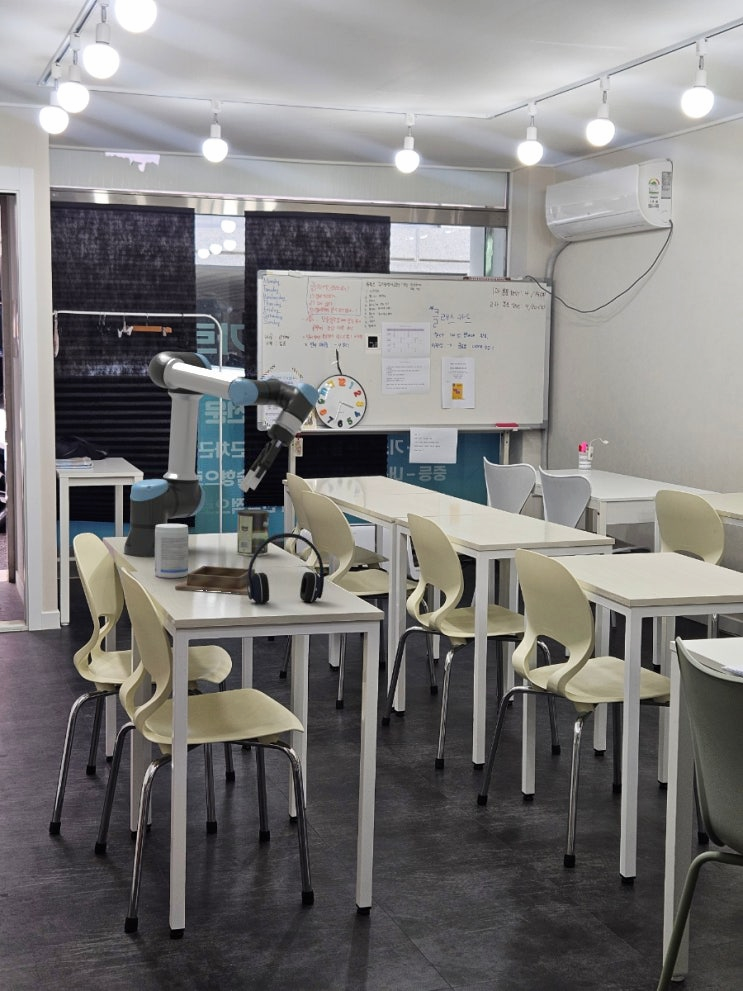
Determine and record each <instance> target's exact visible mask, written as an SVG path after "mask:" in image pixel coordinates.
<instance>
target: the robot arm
mask: <svg viewBox="0 0 743 991" xmlns="http://www.w3.org/2000/svg"><path fill="white" fill-rule="evenodd" d="M148 375H149V378H150V379H151V381H152V382H153V383H154V384H155V386H158V387H160V388H163V389H167V393H168V395H169V396H170V397H171V416H170V431H169V432H170V434H169V436H170V437H169V450H168V451H169V452H168V453H169V454H168V466H167V467H168V469H167V472H166V473H165V474H164V475H163V477H162V479H159V478H151V479H143V480H138V481H136V482H134V483H133V484H132V485H131V488H130V490H131V491H130V496H129V497H130V505H129V506H130V507H129V508H130V509H129V510H130V518H129V522H130V524H129V527H130V528H129V531H128V534H127V537H126V540H125V543H124V546H123V552H124V554H125V555H129V556H136V557H155V528H156V525H158V524H168V519H169V520H170V519H176V518H178V519H179V518H188V517H193V516H195V515H197V514H199V512H200V511H201V510H202V509H203V507H204V504H205V501H206V492H205V490H204V489H203V485H202V483H200V481H199V480H200V478H199V476H198V474H197V473H196V471H195V470H196V456H197V453H196V452H197V438H198V437H197V436H198V420H199V402H200V400H201V399H202V398H203V397H204V396H205V395H209V396H212V397H217V398H220V399H224V400H227V401H231V402H232V403H233V404H235V405H239V406H245V407H246V406H273V407H274V406H275V407H278V408H280V409H282V410H280V412H279V414H278V416H277V418H276V419H275V420H274V424H272V425H271V427H270V428H269V430H268V431H267V435H268V437H269V438H270V439H271V441H269V442H267V443H266V445H265V446H264V448H263V449H262V451H261V452H260V454H259V455H258V457H257V458H256V459H255V461H254V462H253V464H252V465H250V468H249V471H248V472H247V474H246V475H245V477H244V478H243V480H242V481H241V483H240V484H239V486H238V489H240V490H241V491H243V492H245V493H247V492H248V491H249V488H251V489H252V490H253V491H255V490H256V489H257V487H258V485H259V483H260V482H261V481H262V479H263V477H264V476H265V474H266V473H267V471H268V470H269V469H270V468H271V467H272V465H273V463H274V461H275V459H276V457H277V455H278V454H279V452H280V451H281V449H282V447H285V448H286V447H289V446H290V445H291V443H292V442H293V440H294V439H295V437H294V436H296V435H297V434H298V432H300V431H302V429H303V428H302V426H303V424H304V422H305V421H306V420H307V418H308V417H309V415H310V414H311V412H312V411H313V409H315V407H316V404H317V403H318V401H319V399H320V396H321V395H320V392H319V391H318V389H317V388H315V387H314V386H312V385H311V384H310V383H307V382H303V381H301V382H300V383H299V384H298V385H296V386H292V385H290V384H288V383H286V382H283V381H281V380H279V379H277V378H273V377H271V376H265V377H263V378H262V379H261V380H259V379H249V378H244V377H242V376H241V377H240V376H236V375H233V374H228V373H224V372H220V371H215V370H213V367H212V365H211V363H210V361H209V360H208V358H207V357H205V356H204V355H203V354H201V353H195V352H192V351H191V352H188V351H187V352H184V351H182V352H181V351H162V352H159V353H157V354H156V355H154V356H153V357H152V359H151V360H150V362H149V366H148Z"/></svg>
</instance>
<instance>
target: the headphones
mask: <svg viewBox="0 0 743 991" xmlns="http://www.w3.org/2000/svg"><path fill="white" fill-rule="evenodd" d="M284 538H285V539H287V538H288V539H289V538H291V539H293V538H294V539H297V540H301V541H303V542H304V543H305V544H307V545H308V546H309V547H310V548H311V549H312V551H313V552H314V554H315V555H316V558H317V560H318V564H319V574H318V573H317V572H312V571H305V572H304V573H303V575H302V579H301V582H300V583H301V584H300V589H299V597H300V599H301V600H302V601H303V600H305V601H304V602H306V601H314V602H316V600H318V599H321V598H322V596H323V592H324V586H325V584H324V583H325V582H324V581H325V572H324V571H325V570H324V564H323V560H322V557H321V554H320V553H319V551H318V549H317V548H316V546H315V545H314V543H312V542H311V540H309V539H307V538H306V537H305V536H302V535H300V534H297V533H292V532H291V533H290V532H283V533H282V532H280V533H277V534H273V535H271V536H268V539H266V540H265V541H264V542H263V543H262V544H261V545H260V546H259V547H258V548H257V550H256V551H255V553H254V555H253V556H251V557H252V558H251V559H250V562H249V565H248V567H247V569H248V574H247V591H248V594H247V597H248V599H249V600H250V601H251V600H253V601H254V602H255V603H257V604H258V603H259V604H265V603H268V602H270V601H269V600H270V586H269V585H270V584H269V578H268V576H267V573H264V572H255V573H254V574H253V575H252V577H251V572H252V569H253V566H254V564H255V562H256V558H257V557H258V556H257V555H258V554H259V552H260V551H261V550H262V549H263V548H264V547H265V546H266V545H267V544H270V543H271V542H273V541H275V540H278V539H284Z"/></svg>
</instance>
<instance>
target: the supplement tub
mask: <svg viewBox="0 0 743 991" xmlns="http://www.w3.org/2000/svg"><path fill="white" fill-rule="evenodd" d="M187 574H189V526H188V525H187V524H185V523H184V524H182V523H167V524H158V525H156V528H155V556H154V575H155V576H156V577H159V578H163V579H164V578H166V579H176V578H183V577H184V578H185V577H187Z"/></svg>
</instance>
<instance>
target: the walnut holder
mask: <svg viewBox="0 0 743 991" xmlns="http://www.w3.org/2000/svg"><path fill="white" fill-rule="evenodd" d="M254 573H256V569H254V568H252V572H251V577H252V575H253V574H254ZM247 574H248V568H244V567H243V568H240V567H227V566H226V567H225V566H211V565H210V566H209V565H202V566H201V567H198V568H197V569H195V570H193V571H191V572H188V574H187V575H186V580H183V581H182V582H180V583H178V584H176V585H175V586H174V590H175V589H176V590H175V591H186V590H203V591H206V590H207V591H221V592H231V593H239V594H238V595H241V594H247V595H248V591H247Z"/></svg>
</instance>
